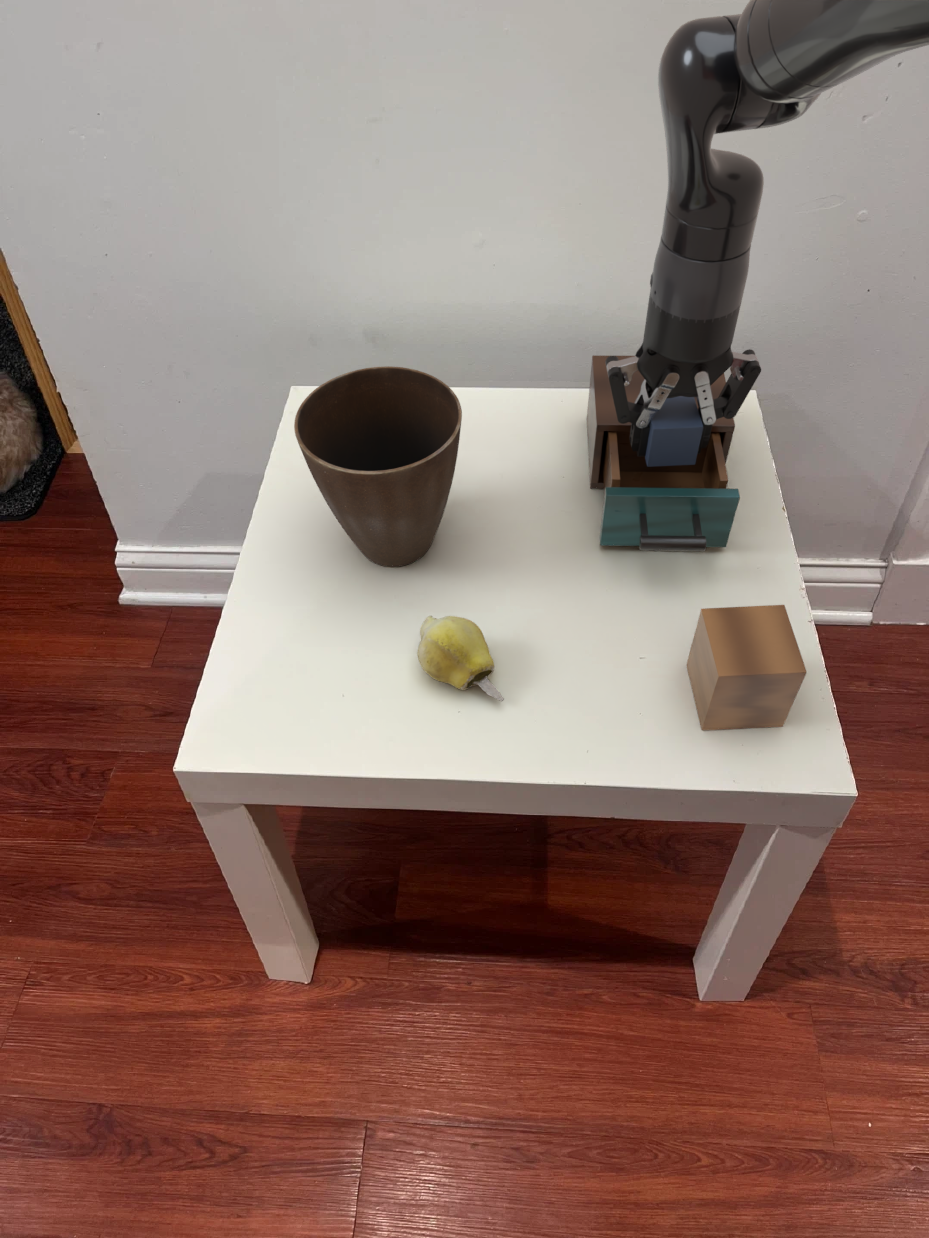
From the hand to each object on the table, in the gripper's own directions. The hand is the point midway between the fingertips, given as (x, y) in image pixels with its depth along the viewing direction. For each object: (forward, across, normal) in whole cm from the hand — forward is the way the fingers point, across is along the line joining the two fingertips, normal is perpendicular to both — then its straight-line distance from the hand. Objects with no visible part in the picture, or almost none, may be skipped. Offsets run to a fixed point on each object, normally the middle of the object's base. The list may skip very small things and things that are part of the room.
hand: (667, 449), depth 90 cm
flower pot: (+9, -27, -2) cm, 29 cm away
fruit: (+9, -21, -20) cm, 30 cm away
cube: (+8, +3, -23) cm, 25 cm away
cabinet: (+8, +1, +9) cm, 12 cm away
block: (0, 0, 0) cm, 0 cm away
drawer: (+7, 0, -3) cm, 8 cm away
